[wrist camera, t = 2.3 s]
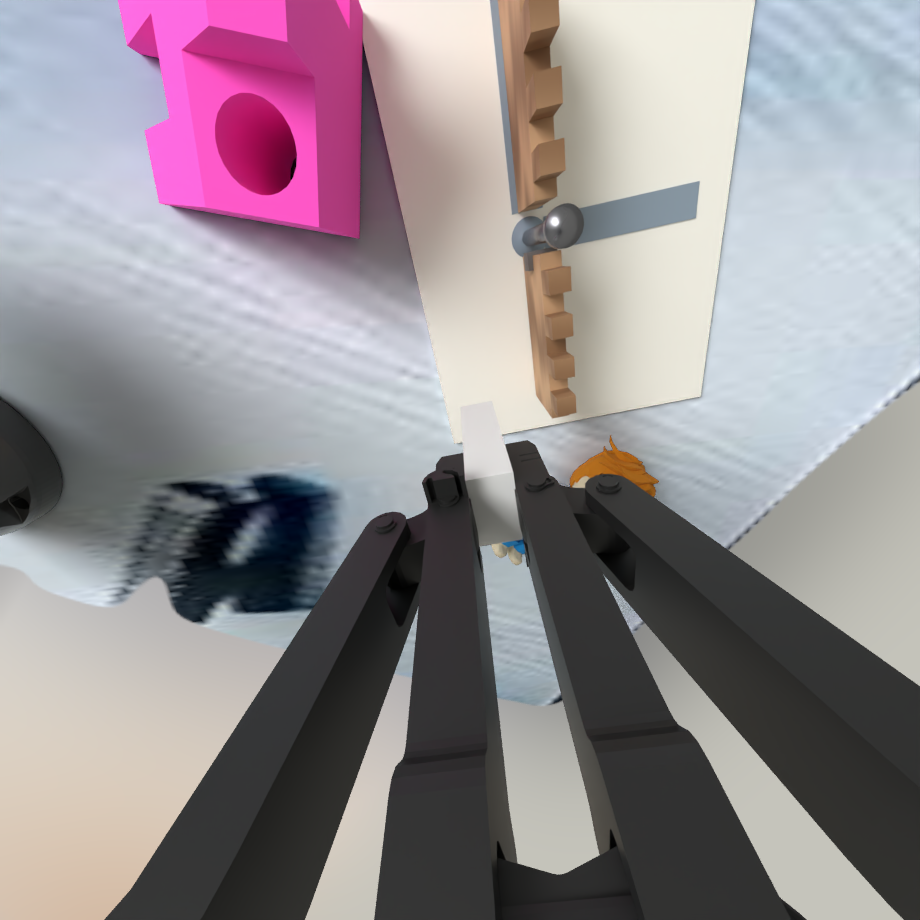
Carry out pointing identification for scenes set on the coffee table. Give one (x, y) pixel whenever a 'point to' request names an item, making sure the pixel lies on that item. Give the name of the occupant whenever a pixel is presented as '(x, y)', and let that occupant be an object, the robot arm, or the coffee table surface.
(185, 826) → the robot arm
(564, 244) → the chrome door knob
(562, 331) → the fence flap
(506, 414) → the card
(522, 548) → the toy
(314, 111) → the bracket
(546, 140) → the fence fixed
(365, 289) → the coffee table surface
